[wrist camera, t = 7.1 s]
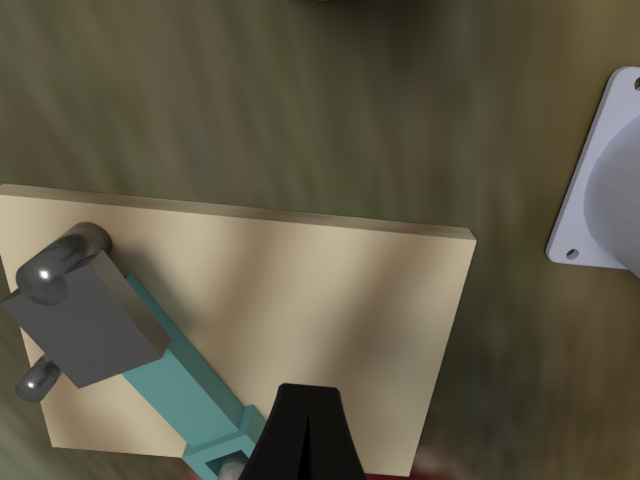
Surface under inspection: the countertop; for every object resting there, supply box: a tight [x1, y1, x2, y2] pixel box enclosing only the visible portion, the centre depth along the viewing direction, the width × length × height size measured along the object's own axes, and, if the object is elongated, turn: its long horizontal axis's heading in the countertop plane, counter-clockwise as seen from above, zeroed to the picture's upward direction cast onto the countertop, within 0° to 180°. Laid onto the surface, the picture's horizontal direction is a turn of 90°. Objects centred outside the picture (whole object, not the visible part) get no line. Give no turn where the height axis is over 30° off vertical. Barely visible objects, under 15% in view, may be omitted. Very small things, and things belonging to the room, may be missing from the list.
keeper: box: [0, 222, 171, 402], centre depth 18 cm, size 6×7×5 cm
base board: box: [0, 184, 477, 476], centre depth 21 cm, size 20×15×1 cm
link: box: [121, 273, 266, 480], centre depth 21 cm, size 13×4×2 cm, turn 28°
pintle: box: [218, 450, 249, 480], centre depth 22 cm, size 1×1×3 cm
